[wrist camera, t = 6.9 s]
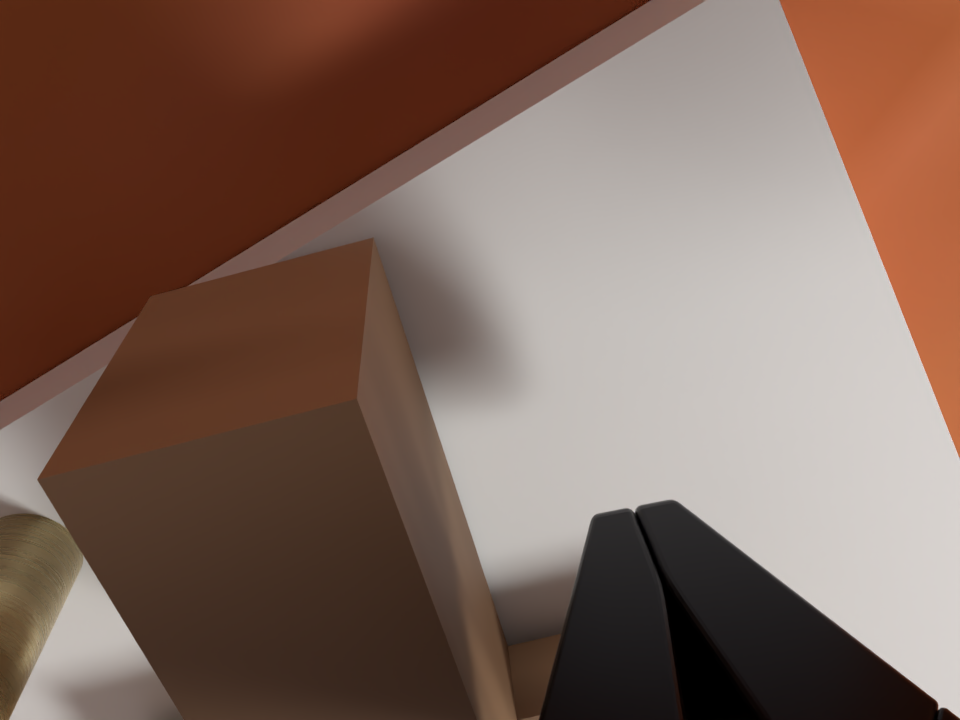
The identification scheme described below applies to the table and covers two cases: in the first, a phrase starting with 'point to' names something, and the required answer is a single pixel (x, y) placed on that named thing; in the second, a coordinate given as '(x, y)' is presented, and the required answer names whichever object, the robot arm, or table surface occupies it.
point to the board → (618, 348)
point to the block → (287, 508)
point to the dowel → (30, 595)
